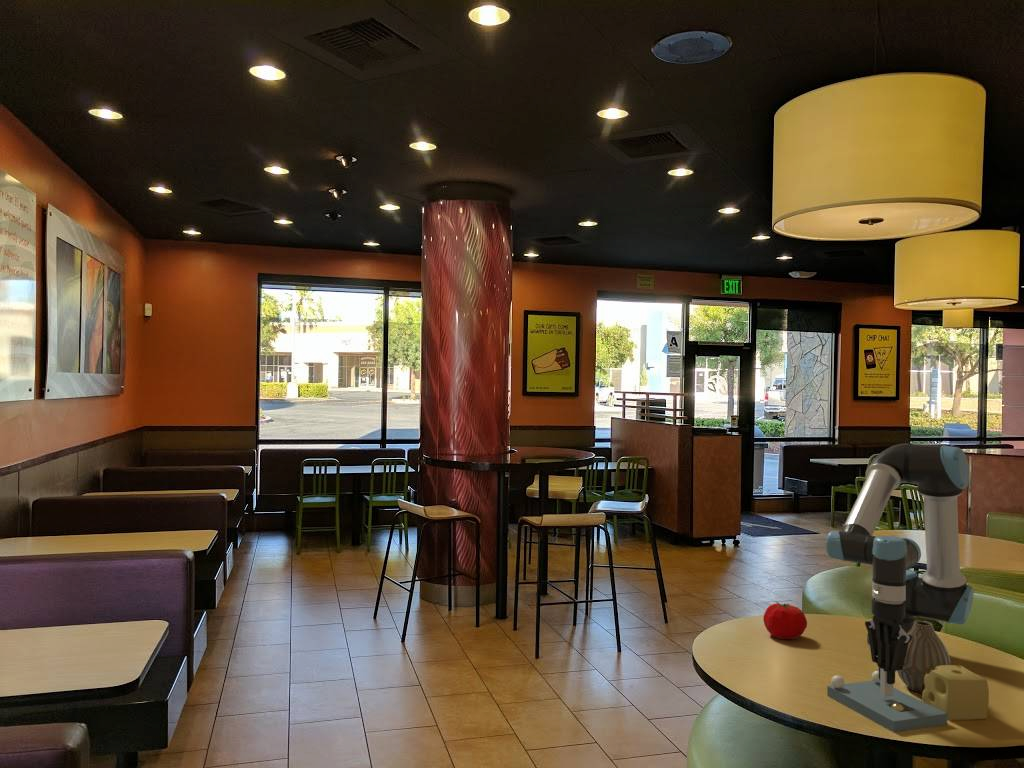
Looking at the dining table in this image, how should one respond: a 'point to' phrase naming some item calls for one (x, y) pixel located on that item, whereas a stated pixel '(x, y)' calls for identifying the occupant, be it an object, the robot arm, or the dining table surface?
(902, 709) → the ball
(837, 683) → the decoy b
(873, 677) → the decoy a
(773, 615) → the tomato
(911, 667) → the vase
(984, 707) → the cheese
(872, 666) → the dining table surface
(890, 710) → the plate
